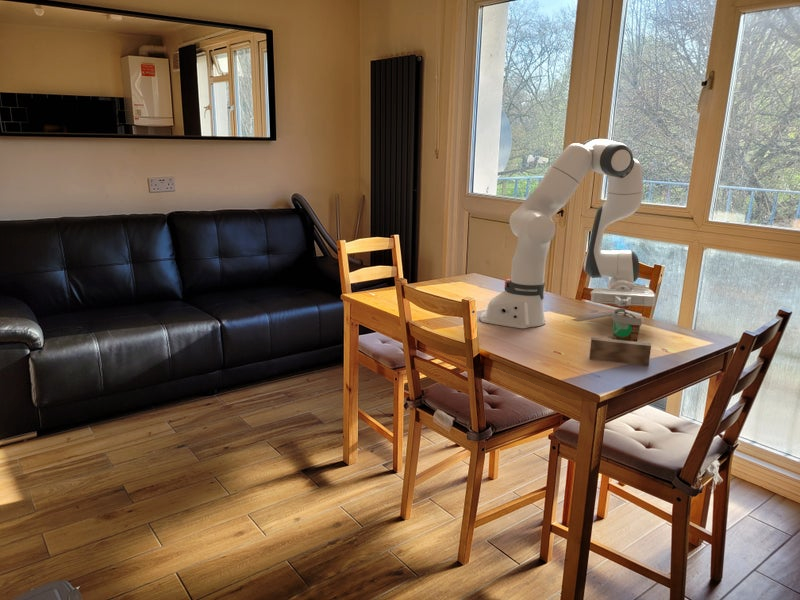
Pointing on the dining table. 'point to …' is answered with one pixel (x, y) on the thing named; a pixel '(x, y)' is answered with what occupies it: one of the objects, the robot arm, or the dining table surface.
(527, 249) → the robot arm
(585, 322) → the dining table surface
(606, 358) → the walnut bar
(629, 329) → the food container
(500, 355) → the dining table surface
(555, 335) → the dining table surface
